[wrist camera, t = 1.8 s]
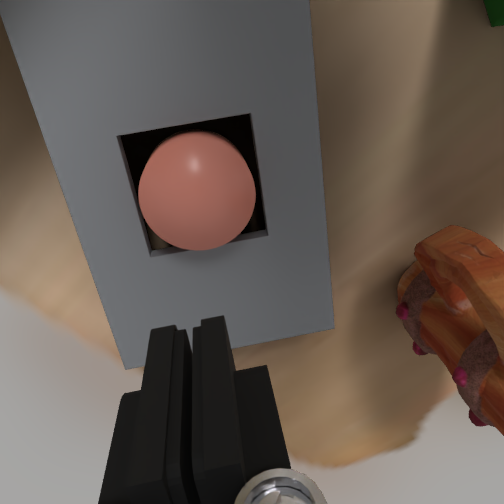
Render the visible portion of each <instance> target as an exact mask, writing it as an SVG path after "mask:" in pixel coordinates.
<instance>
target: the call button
mask: <svg viewBox="0 0 504 504" xmlns="http://www.w3.org/2000/svg"><path fill="white" fill-rule="evenodd" d="M138 195H139V204H140V208H141V211H142V214H143V216H144V218H145V220H146V222H147V224H148V225H149V227H150V228H151V229H152V230H153V231H154V232H155V233H156V234H157V235H158V236H159V237H160V238H162V239H163V240H164V241H166V242H168V243H170V244H172V245H174V246H176V247H179V248H183V249H187V250H209V249H213V248H217V247H219V246H222V245H224V244H226V243H228V242H230V241H231V240H232V239H234V238H235V237H236V236H237V235H239V234H240V233H241V231H242V230H243V229H244V228H245V227H246V225H247V224H248V222H249V220H250V218H251V216H252V213H253V210H254V206H255V197H256V193H255V185H254V180H253V177H252V175H251V172H250V170H249V168H248V166H247V164H246V162H245V160H244V158H243V156H242V154H241V153H240V151H239V150H238V149H237V147H236V146H235V145H234V144H233V143H232V142H230V141H229V140H228V139H226V138H225V137H223V136H222V135H220V134H217V133H215V132H212V131H209V130H203V129H188V130H183V131H179V132H177V133H174V134H172V135H170V136H169V137H167V138H166V139H164V140H163V141H162V142H161V143H160V144H159V145H158V146H157V147H156V148H155V149H154V151H153V152H152V154H151V156H150V157H149V159H148V162H147V164H146V166H145V168H144V171H143V173H142V176H141V179H140V183H139V191H138Z"/></svg>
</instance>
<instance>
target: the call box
mask: <svg viewBox="0 0 504 504" xmlns="http://www.w3.org/2000/svg"><path fill="white" fill-rule="evenodd" d="M0 15H1V18H2V21H3V24H4V26H5V29H6V32H7V35H8V38H9V41H10V43H11V46H12V49H13V52H14V55H15V58H16V61H17V63H18V66H19V69H20V72H21V75H22V78H23V80H24V83H25V86H26V89H27V92H28V95H29V97H30V100H31V103H32V106H33V109H34V112H35V115H36V117H37V120H38V123H39V126H40V129H41V132H42V134H43V137H44V140H45V143H46V146H47V149H48V151H49V154H50V157H51V160H52V163H53V166H54V168H55V171H56V174H57V177H58V180H59V183H60V186H61V188H62V191H63V194H64V197H65V200H66V203H67V205H68V208H69V211H70V214H71V217H72V220H73V222H74V225H75V228H76V231H77V234H78V237H79V240H80V242H81V245H82V248H83V251H84V254H85V257H86V259H87V262H88V265H89V268H90V271H91V274H92V276H93V279H94V282H95V285H96V288H97V291H98V293H99V296H100V299H101V302H102V305H103V308H104V311H105V313H106V316H107V319H108V322H109V325H110V328H111V330H112V333H113V336H114V339H115V342H116V345H117V347H118V350H119V353H120V356H121V359H122V362H123V365H124V367H125V370H127V369H132V368H137V367H142V366H145V362H146V356H147V350H148V343H149V337H150V332H151V329H154V328H160V327H165V326H170V325H176V326H177V329H178V330H182V329H186V331H187V334H188V338H189V342H190V346H191V350H192V340H193V327H198V326H201V319H206V318H211V317H216V316H221V315H224V317H225V321H226V326H227V331H228V335H229V340H230V345H231V349H233V348H238V347H243V346H249V345H254V344H259V343H264V342H269V341H274V340H279V339H284V338H289V337H294V336H299V335H304V334H309V333H314V332H320V331H325V330H330V329H335V326H334V313H333V300H332V287H331V274H330V261H329V249H328V236H327V223H326V210H325V197H324V184H323V171H322V158H321V145H320V132H319V119H318V106H317V93H316V80H315V67H314V54H313V41H312V28H311V15H310V2H309V0H0ZM247 113H249V114H250V121H251V128H252V135H253V142H254V149H255V156H256V163H257V170H258V177H259V184H260V191H261V198H262V205H263V212H264V218H265V225H266V230H261V231H256V232H250V233H245V234H239V235H237V236H236V237H235V238H234V239H232V240H231V241H230V242H228V243H226V244H224V245H222V246H219V247H217V248H213V249H209V250H187V249H183V248H179V247H176V246H174V247H169V248H163V249H158V250H153V251H152V249H151V246H150V242H149V239H148V235H147V231H146V228H145V224H144V220H143V217H142V213H141V210H140V206H139V202H138V199H137V195H136V191H135V188H134V184H133V180H132V177H131V173H130V170H129V166H128V162H127V159H126V155H125V151H124V148H123V144H122V141H121V137H120V135H125V134H130V133H136V132H142V131H148V130H154V129H160V128H165V127H171V126H177V125H183V124H189V123H195V122H201V121H206V120H212V119H218V118H224V117H230V116H236V115H242V114H247Z"/></svg>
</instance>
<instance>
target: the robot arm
mask: <svg viewBox="0 0 504 504" xmlns="http://www.w3.org/2000/svg"><path fill="white" fill-rule="evenodd" d="M98 504H327V502H326V500H325V498H324V496H323V494H322V492H321V491H320V489H319V488H318V486H317V485H316V483H315V482H314V481H313V480H311V479H310V478H309V477H307V476H306V475H305V474H303V473H300V472H298V471H295V470H293V469H291V466H290V461H289V457H288V453H287V449H286V444H285V440H284V436H283V432H282V427H281V423H280V419H279V415H278V410H277V406H276V402H275V398H274V394H273V389H272V385H271V381H270V377H269V372H268V368H267V365H264V366H259V367H254V368H249V369H244V370H239V371H236V369H235V364H234V359H233V355H232V350H231V345H230V340H229V335H228V331H227V326H226V321H225V317H224V315H221V316H216V317H211V318H206V319H201V326H198V327H193V340H192V350H191V346H190V342H189V338H188V334H187V331H186V329H182V330H178V329H177V326H176V325H170V326H165V327H160V328H154V329H151V332H150V337H149V343H148V350H147V356H146V362H145V368H144V374H143V380H142V387H141V390H139V391H134V392H129V393H124V395H123V396H122V398H121V401H120V405H119V410H118V415H117V419H116V424H115V428H114V433H113V437H112V442H111V447H110V451H109V456H108V460H107V465H106V470H105V475H104V479H103V484H102V488H101V493H100V497H99V502H98Z"/></svg>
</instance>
